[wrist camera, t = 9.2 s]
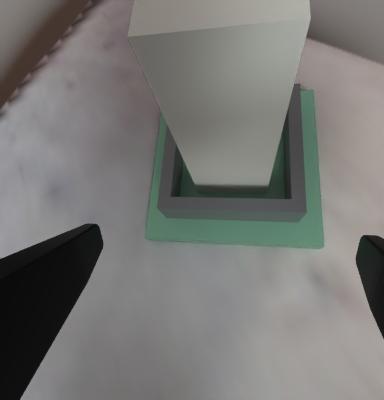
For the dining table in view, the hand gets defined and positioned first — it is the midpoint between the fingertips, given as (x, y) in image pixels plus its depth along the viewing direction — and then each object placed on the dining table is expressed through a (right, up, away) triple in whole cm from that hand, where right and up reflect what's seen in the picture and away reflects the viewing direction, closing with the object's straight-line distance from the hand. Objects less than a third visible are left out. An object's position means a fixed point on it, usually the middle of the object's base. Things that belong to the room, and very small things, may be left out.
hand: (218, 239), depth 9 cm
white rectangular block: (+2, +4, +11) cm, 12 cm away
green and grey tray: (+2, +4, +12) cm, 12 cm away
